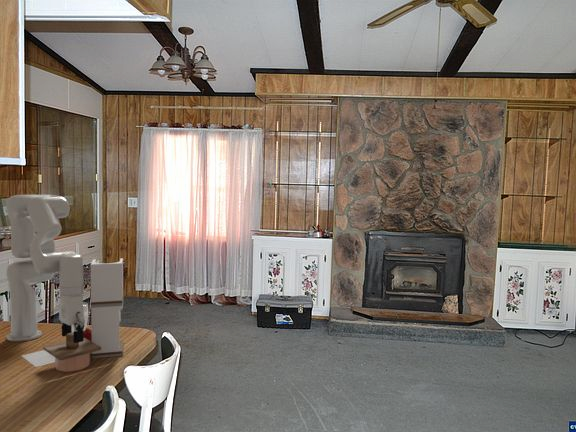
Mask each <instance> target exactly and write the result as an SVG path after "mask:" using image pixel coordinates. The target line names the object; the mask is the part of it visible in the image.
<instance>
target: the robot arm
mask: <svg viewBox="0 0 576 432" xmlns="http://www.w3.org/2000/svg"><path fill="white" fill-rule="evenodd" d="M5 204H6V205H5V207H6V208H5V209H6V213H7V216H8V220H9V222H10V248H11V250H10V251H11V255H12V256H13V257H14V258H17V259H27V260H19V261H14V262H11V263H10V264H8V266H7V268H6V278H7V282H8V287H9V289H8V291H9V302H10V303H9V304H10V305H9V310H10V333H9V334H7V336H6V340H8V341H9V342H25V341H26V342H27V341H30V340H34V339H35V340H36V339H38V338H40V337H41V336H42V331H41V330H40V329H38V305H37V304H38V303H37V299H38V298H37V292H36V291H35V289H34V288H33V287H32V286H31V285H30V284H34V283H40V282H47V281H48V282H49V281H51V280H52V279H54V276H55V274H57V275H59V276H58V279H59V303H58V304H59V305H58V319H59V321H60V324H61V337H66V334H68V333H72V327H71V325H72V324H73V327H74V332H73V339H74V343H78V342H82V341H84V334H83V330H84V323H85V320H84V308H83V302H84V298H83V295H84V258H83V256H82V255H81V254H78V253H76V252H74V251H72V250H66V251H56V245H55V240H54V239H55V238H57V237H58V236H59V235H60V234H61V232H62V225H61V223H60V221H59V219H63V218H67V217H68V216H69V214H70V210H71V209H70V207H71V206H70V203H69V201H68V200H67V199H66V198H65V196H64V197H63V196H62V195H55V194H16V195H12V196H9V198H7V200H6V203H5ZM29 258H30V259H29ZM76 325H78V326H77V327H76Z"/></svg>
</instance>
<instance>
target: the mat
mask: <svg viewBox="0 0 576 432" xmlns="http://www.w3.org/2000/svg"><path fill="white" fill-rule="evenodd" d="M21 357H22V358H23V359H25V361H27V362H29V363H30V364H31V365H32V366H34V367H35V368H38V367H42V366H45V365H49V364H55V357H54V356H52V355H51V354H49V353H48V352H46V351H45V350H44V349H42V350H38V351H35V352H31V353H27V354H22V355H21Z"/></svg>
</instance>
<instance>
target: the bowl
mask: <svg viewBox="0 0 576 432" xmlns="http://www.w3.org/2000/svg"><path fill="white" fill-rule="evenodd" d="M90 363H91V353H87V354H84V355H80V356H76V357H72V358H68V359H64V360H58V359H57V358H55V362H54V365H55V366H54V367H55V370H57V371H58V372H65V373H66V372H67V373H69V372H76V371H81V370H84V369H86V368H87V367H89V366H90Z"/></svg>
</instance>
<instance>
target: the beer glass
mask: <svg viewBox="0 0 576 432" xmlns="http://www.w3.org/2000/svg"><path fill="white" fill-rule="evenodd" d="M83 308H84V320H85V323H84V330H83V331H85V330H86V327H88V323H89V322H88V321H89V305H88V302H85V301H83ZM77 326H78V325H76V327H77ZM71 327H72V333H73V332H74V327H73V324H72V325H71Z"/></svg>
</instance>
